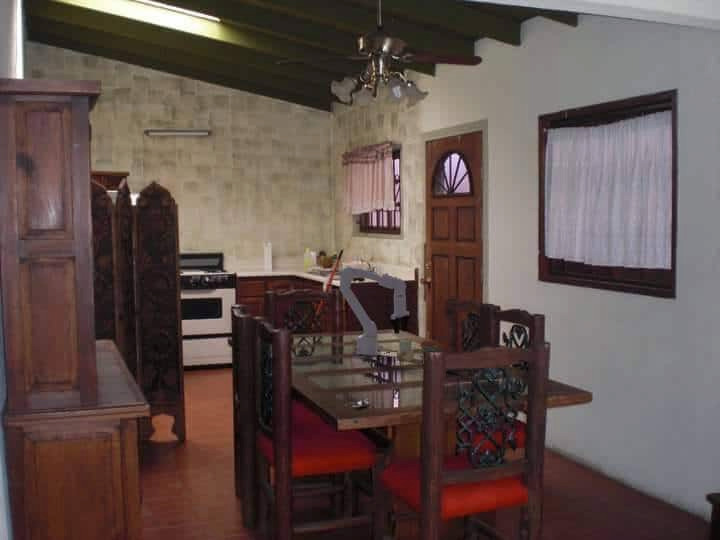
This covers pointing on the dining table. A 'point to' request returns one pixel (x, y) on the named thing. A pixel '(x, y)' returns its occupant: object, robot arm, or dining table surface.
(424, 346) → the cupcake
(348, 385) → the dining table surface
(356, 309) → the robot arm
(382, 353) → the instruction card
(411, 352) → the beech base brick
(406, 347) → the sage brick
